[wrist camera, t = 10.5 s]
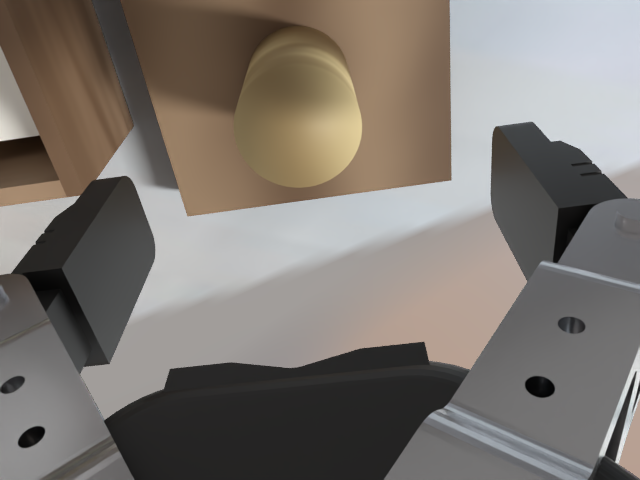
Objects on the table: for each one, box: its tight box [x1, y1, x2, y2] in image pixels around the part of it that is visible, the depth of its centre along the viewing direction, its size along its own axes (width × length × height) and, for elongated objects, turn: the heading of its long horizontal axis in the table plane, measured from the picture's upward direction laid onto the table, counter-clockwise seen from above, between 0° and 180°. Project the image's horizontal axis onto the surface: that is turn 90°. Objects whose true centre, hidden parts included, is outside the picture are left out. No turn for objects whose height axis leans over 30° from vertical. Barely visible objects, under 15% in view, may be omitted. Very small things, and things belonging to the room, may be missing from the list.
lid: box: [120, 0, 451, 216], centre depth 18 cm, size 11×10×7 cm
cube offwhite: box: [0, 46, 39, 141], centre depth 19 cm, size 4×4×4 cm
